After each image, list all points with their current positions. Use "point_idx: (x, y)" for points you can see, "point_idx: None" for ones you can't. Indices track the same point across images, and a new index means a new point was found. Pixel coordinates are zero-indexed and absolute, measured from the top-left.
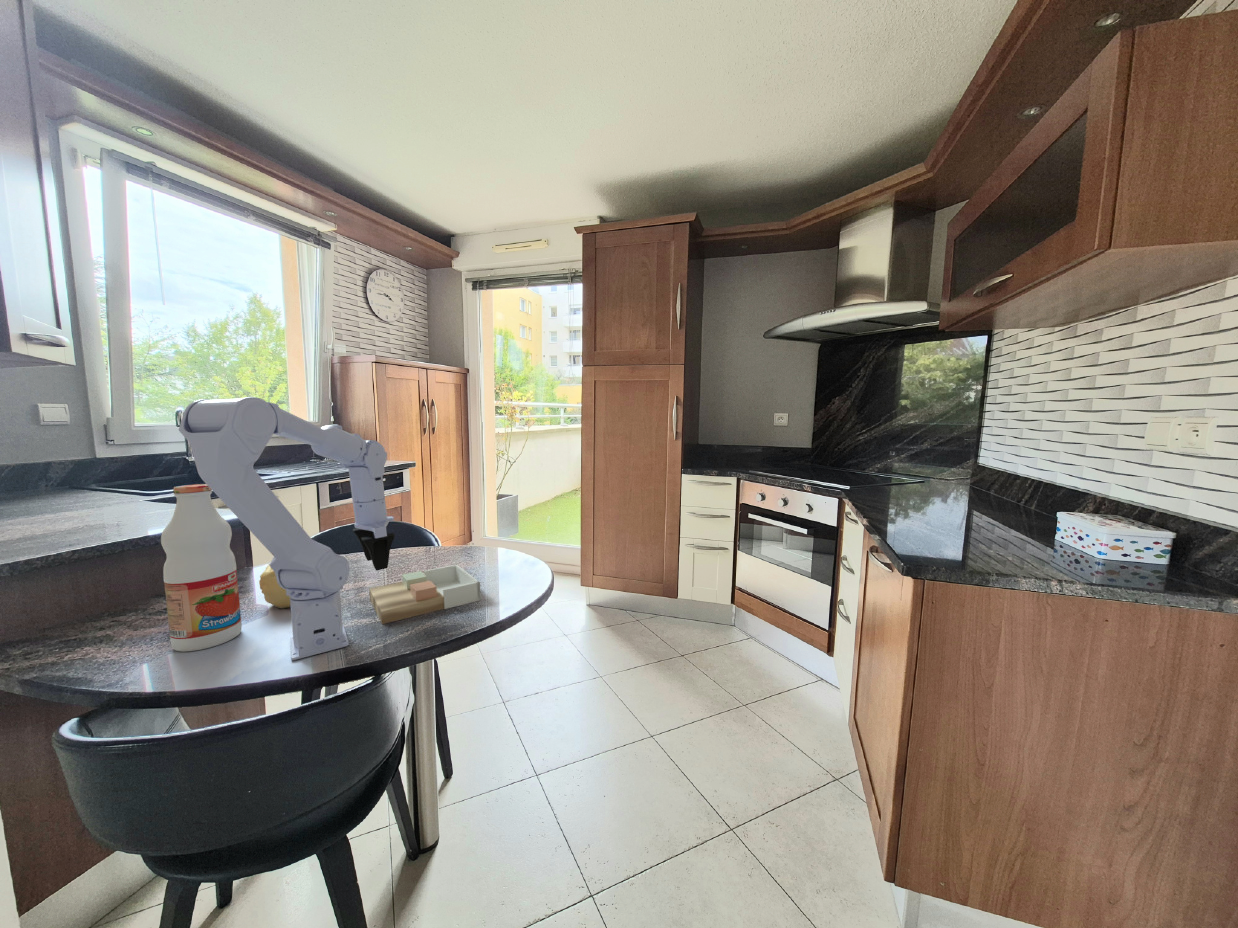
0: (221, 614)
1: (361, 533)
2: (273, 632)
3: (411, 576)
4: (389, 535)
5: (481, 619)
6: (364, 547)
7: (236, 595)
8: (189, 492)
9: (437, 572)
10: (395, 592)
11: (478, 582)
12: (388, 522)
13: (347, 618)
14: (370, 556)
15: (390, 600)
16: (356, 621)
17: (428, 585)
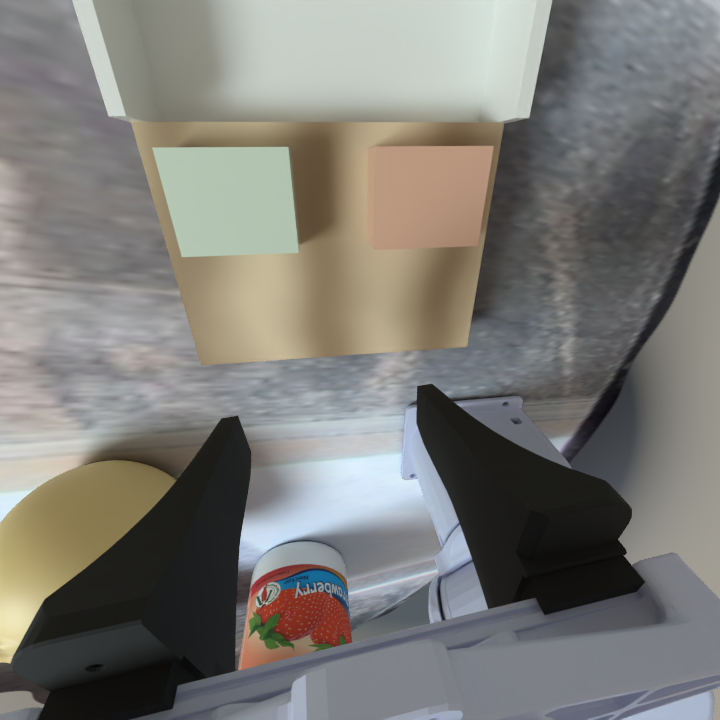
0: (340, 606)
1: (223, 639)
2: (331, 502)
3: (241, 220)
4: (606, 529)
5: (691, 24)
6: (240, 525)
7: (308, 629)
8: None
9: (110, 22)
10: (309, 290)
11: None
12: (450, 652)
13: (345, 397)
14: (244, 457)
15: (388, 314)
16: (383, 380)
17: (445, 176)
